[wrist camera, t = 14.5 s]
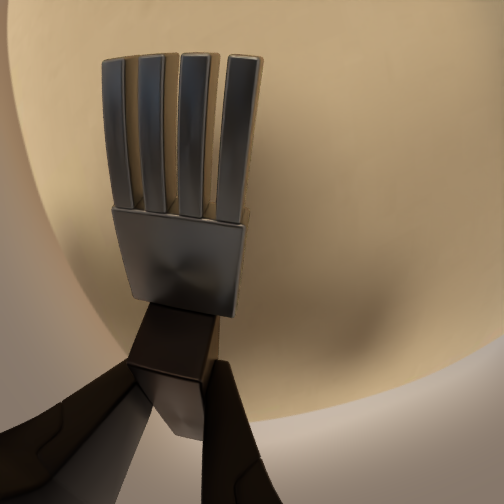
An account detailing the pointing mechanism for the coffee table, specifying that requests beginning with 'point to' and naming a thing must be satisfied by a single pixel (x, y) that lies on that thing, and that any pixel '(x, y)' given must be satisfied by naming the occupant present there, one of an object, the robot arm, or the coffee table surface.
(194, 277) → the fork
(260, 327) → the coffee table surface
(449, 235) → the coffee table surface
